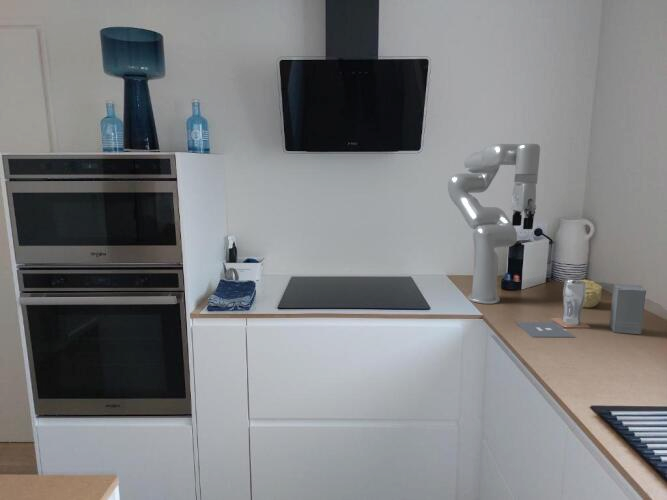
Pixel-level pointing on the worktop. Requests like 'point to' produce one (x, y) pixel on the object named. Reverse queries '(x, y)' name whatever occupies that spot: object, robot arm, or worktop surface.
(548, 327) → the blue-grey tile
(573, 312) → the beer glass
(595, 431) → the worktop surface
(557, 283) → the worktop surface
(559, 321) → the coaster
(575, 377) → the worktop surface
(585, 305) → the sculpture
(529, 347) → the worktop surface
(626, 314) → the skincare box
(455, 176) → the robot arm
